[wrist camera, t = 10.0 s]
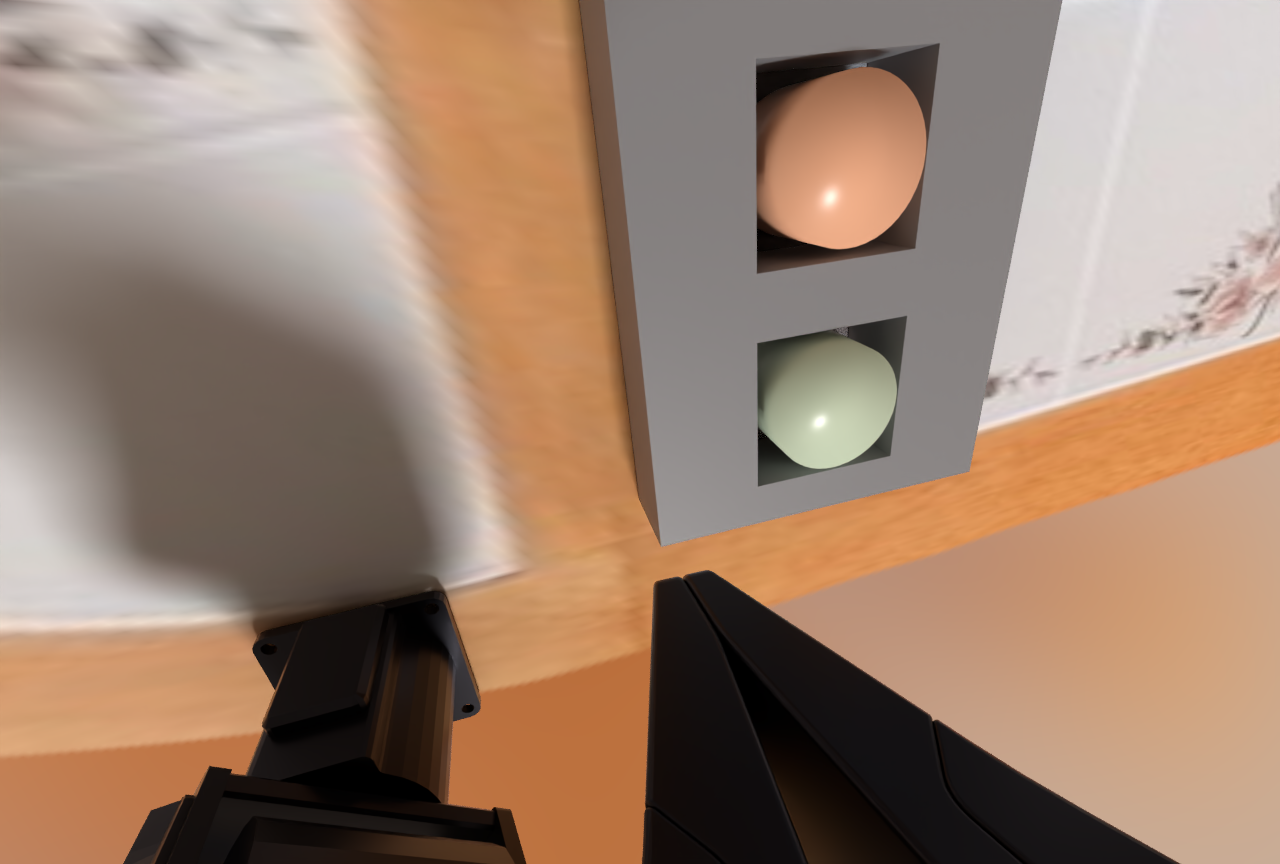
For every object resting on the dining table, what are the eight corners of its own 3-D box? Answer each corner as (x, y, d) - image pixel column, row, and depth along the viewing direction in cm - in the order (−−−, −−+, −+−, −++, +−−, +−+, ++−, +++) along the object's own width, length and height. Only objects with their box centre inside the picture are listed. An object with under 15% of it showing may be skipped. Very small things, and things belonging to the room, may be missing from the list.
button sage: (836, 416, 22) (889, 454, 19) (735, 438, 21) (775, 480, 18) (844, 310, 20) (903, 334, 17) (733, 329, 19) (776, 358, 16)
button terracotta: (849, 227, 18) (915, 237, 16) (731, 244, 18) (777, 259, 15) (860, 78, 16) (937, 59, 14) (727, 91, 16) (780, 74, 13)
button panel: (914, 437, 23) (969, 471, 21) (639, 499, 21) (661, 546, 19) (1028, -369, 13) (1160, -500, 11) (530, -401, 11) (544, -573, 9)
